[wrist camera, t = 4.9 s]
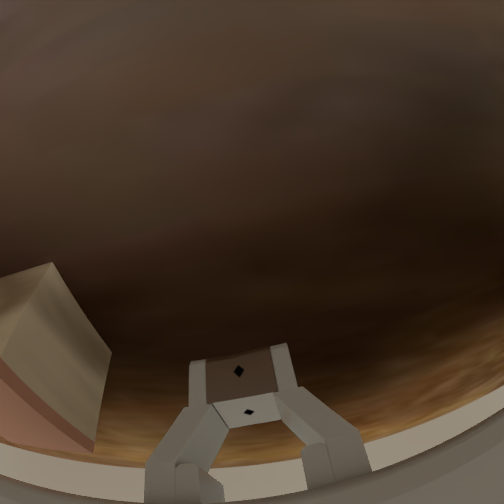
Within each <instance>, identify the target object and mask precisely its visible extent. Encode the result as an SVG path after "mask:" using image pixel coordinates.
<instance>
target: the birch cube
mask: <svg viewBox="0 0 504 504" xmlns="http://www.w3.org/2000/svg"><path fill="white" fill-rule="evenodd" d="M111 355H112V352H111V350H110V349H109V348H108V346H107V345H106V344H105V342H104V341H103V340H102V338H101V337H100V336H99V334H98V333H97V331H96V330H95V328H94V327H93V326H92V324H91V323H90V321H89V320H88V318H87V317H86V315H85V314H84V312H83V311H82V309H81V308H80V306H79V305H78V303H77V302H76V300H75V299H74V297H73V296H72V294H71V292H70V291H69V289H68V287H67V286H66V284H65V283H64V281H63V279H62V278H61V276H60V274H59V273H58V271H57V269H56V267H55V266H54V264H53V262H50V263H47V264H43V265H40V266H37V267H33V268H30V269H27V270H24V271H21V272H17V273H14V274H11V275H8V276H5V277H2V278H0V435H1V436H2V437H4V438H5V439H6V440H8V441H9V442H13V443H18V444H23V445H28V446H33V447H39V448H46V449H53V450H60V451H68V452H78V453H89V454H93V450H94V443H95V437H96V430H97V424H98V418H99V413H100V407H101V402H102V397H103V392H104V387H105V382H106V377H107V372H108V368H109V363H110V359H111Z"/></svg>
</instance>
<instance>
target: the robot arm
mask: <svg viewBox="0 0 504 504" xmlns="http://www.w3.org/2000/svg"><path fill="white" fill-rule="evenodd" d="M276 420H282V421H283V422H284V423H285V424H286V425H287V426H288V427H289V428H290V429H291V430H292V431H293V432H294V433H295V434H296V435H297V436H298V437H299V438H300V439H301V440H302V441H303V442H304V443H305V444H306V445H307V446H304V447H303V449H302V450H301V457H302V461H303V467H304V472H305V477H306V482H307V488H308V490H305V491H300V492H295V493H290V494H285V495H279V496H273V497H266V498H259V499H252V500H243V501H234V502H225V498H224V489H223V485H222V484H221V483H220V482H219V481H217V480H216V479H214V478H213V477H211V476H210V475H209V474H208V471H209V469H210V468H211V466H212V464H213V462H214V460H215V458H216V456H217V454H218V452H219V450H220V448H221V446H222V444H223V442H224V440H225V438H226V436H227V434H228V432H229V429H230V428H236V427H241V426H247V425H252V424H258V423H264V422H270V421H276ZM0 504H504V408H503V409H501V410H499V411H498V412H496V413H495V414H493V415H492V416H491V417H488V418H487V419H485V420H484V421H482V422H480V423H478V424H477V425H475V426H473V427H471V428H470V429H468V430H466V431H464V432H462V433H461V434H459V435H457V436H455V437H453V438H451V439H449V440H447V441H445V442H443V443H441V444H439V445H437V446H435V447H433V448H431V449H428V450H426V451H424V452H422V453H420V454H417V455H415V456H413V457H410V458H408V459H406V460H403V461H400V462H398V463H395V464H393V465H390V466H387V467H385V468H382V469H379V470H376V471H373V472H372V470H371V466H370V463H369V460H368V457H367V454H366V451H365V448H364V444H363V441H362V438H361V435H360V432H359V430H358V429H356V428H355V427H354V426H352V425H351V424H350V423H348V422H347V421H346V420H345V419H343V418H342V417H341V416H339V415H338V414H337V413H335V412H334V411H333V410H332V409H330V408H329V407H328V406H327V405H325V404H324V403H323V402H322V401H320V400H319V399H318V398H317V397H315V396H314V395H313V394H312V393H310V392H309V391H308V390H307V389H305V388H304V387H303V386H302V387H298V386H297V382H296V378H295V374H294V369H293V365H292V361H291V357H290V353H289V349H288V345H287V343H282V344H278V345H274V346H268V347H263V348H259V349H255V350H250V351H246V352H241V353H238V354H234V355H228V356H222V357H215V358H209V359H202V360H196V361H191V363H190V366H189V407H184V408H183V410H182V411H181V413H180V414H179V416H178V417H177V418H176V420H175V421H174V423H173V424H172V426H171V427H170V429H169V430H168V432H167V433H166V434H165V436H164V437H163V439H162V440H161V442H160V443H159V445H158V446H157V447H156V449H155V450H154V452H153V453H152V455H151V456H150V457H149V459H148V460H147V462H146V463H145V490H144V503H137V502H136V503H135V502H125V501H115V500H107V499H100V498H92V497H87V496H80V495H75V494H70V493H65V492H60V491H56V490H52V489H48V488H43V487H40V486H36V485H32V484H29V483H25V482H22V481H19V480H16V479H12V478H9V477H6V476H4V475H1V474H0Z"/></svg>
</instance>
